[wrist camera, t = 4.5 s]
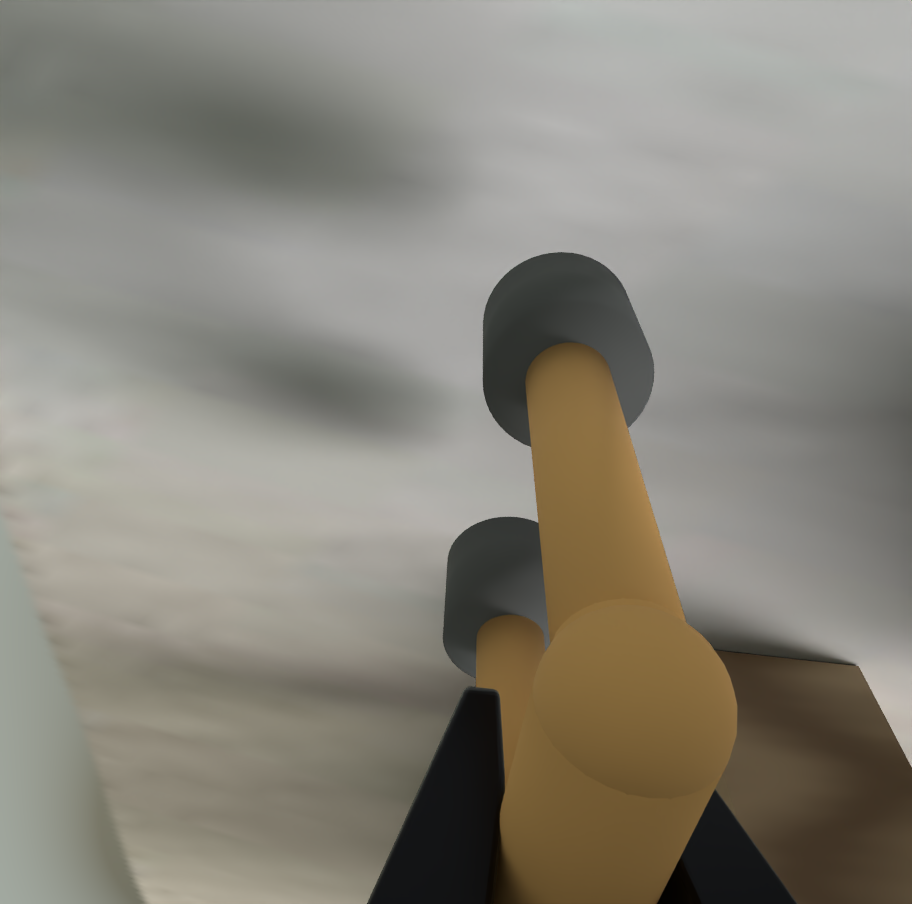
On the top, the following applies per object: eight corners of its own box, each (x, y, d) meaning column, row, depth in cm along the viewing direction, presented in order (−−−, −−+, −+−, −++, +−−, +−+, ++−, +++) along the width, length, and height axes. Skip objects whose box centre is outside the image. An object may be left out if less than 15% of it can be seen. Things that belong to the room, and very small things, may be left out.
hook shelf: (858, 665, 22) (1028, 992, 15) (745, 857, 27) (832, 1161, 20) (369, 612, 21) (314, 924, 15) (353, 817, 27) (306, 1115, 20)
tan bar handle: (494, 243, 12) (508, 665, 5) (647, 262, 12) (884, 703, 5) (441, 601, 16) (406, 1113, 9) (555, 613, 16) (611, 1130, 9)
